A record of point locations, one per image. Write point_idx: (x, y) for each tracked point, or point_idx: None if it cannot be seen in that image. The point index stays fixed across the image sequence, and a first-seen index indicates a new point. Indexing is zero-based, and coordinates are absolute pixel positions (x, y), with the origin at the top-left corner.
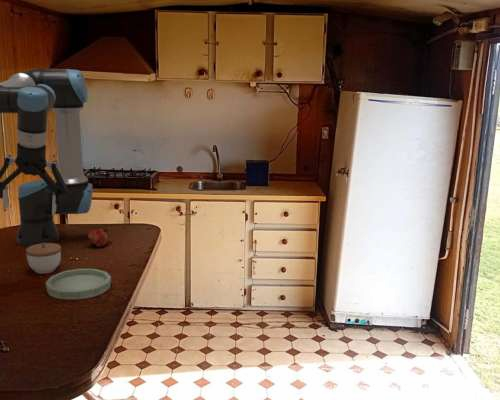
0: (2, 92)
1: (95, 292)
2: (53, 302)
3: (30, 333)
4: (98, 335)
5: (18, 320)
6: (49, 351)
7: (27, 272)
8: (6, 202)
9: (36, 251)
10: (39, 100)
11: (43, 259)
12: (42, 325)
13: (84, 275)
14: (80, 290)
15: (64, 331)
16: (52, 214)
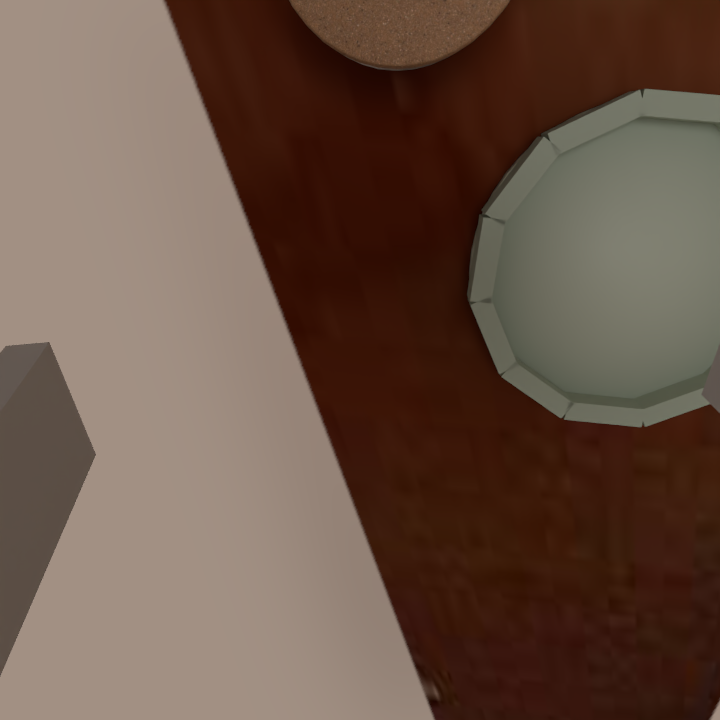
0: None
1: None
2: (518, 420)
3: (477, 627)
4: (694, 659)
5: (416, 547)
6: (551, 715)
7: None
8: (41, 497)
9: (367, 20)
10: None
11: (422, 66)
12: (506, 586)
13: (661, 136)
14: (651, 410)
15: (584, 627)
16: (713, 396)
